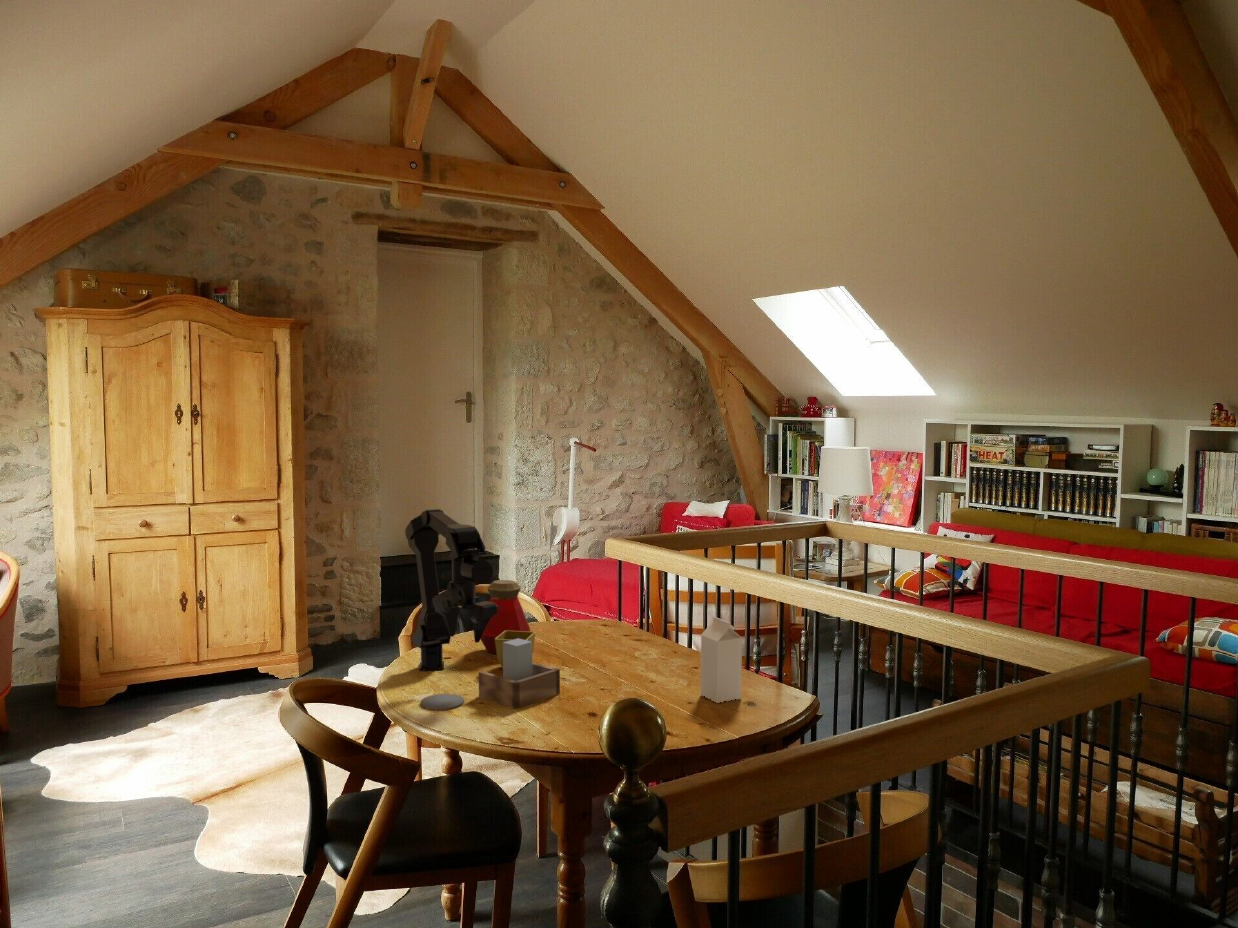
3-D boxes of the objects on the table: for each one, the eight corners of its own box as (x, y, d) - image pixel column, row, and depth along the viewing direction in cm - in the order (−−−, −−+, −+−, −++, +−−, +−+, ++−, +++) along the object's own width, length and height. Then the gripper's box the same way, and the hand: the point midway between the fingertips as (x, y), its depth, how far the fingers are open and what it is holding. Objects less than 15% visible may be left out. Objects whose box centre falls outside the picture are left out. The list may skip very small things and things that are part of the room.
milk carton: (716, 703, 213) (717, 624, 212) (700, 695, 219) (701, 618, 218) (741, 699, 216) (742, 621, 215) (724, 690, 222) (725, 615, 221)
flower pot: (526, 673, 236) (525, 640, 236) (494, 671, 238) (494, 638, 237) (535, 664, 245) (535, 631, 244) (505, 662, 246) (504, 630, 246)
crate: (478, 696, 218) (478, 671, 218) (523, 682, 229) (522, 659, 228) (515, 708, 209) (515, 683, 209) (559, 693, 220) (559, 669, 220)
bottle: (469, 655, 253) (468, 585, 251) (486, 643, 266) (486, 576, 264) (522, 659, 249) (522, 587, 248) (537, 646, 262) (537, 578, 261)
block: (503, 694, 219) (502, 642, 218) (518, 689, 223) (518, 638, 222) (517, 699, 216) (516, 646, 215) (532, 694, 220) (532, 641, 219)
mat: (421, 697, 217) (421, 694, 217) (463, 694, 219) (463, 692, 219) (420, 711, 207) (420, 708, 207) (464, 708, 209) (464, 706, 209)
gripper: (413, 577, 223) (414, 639, 224) (464, 587, 212) (465, 652, 213) (448, 571, 232) (449, 630, 233) (499, 580, 220) (499, 642, 222)
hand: (464, 639), depth 225 cm, fingers open, 9 cm apart
